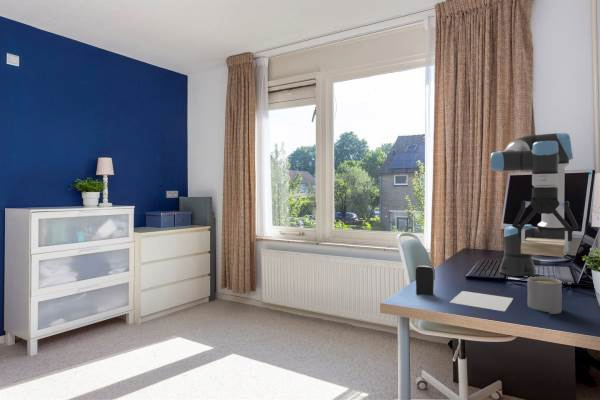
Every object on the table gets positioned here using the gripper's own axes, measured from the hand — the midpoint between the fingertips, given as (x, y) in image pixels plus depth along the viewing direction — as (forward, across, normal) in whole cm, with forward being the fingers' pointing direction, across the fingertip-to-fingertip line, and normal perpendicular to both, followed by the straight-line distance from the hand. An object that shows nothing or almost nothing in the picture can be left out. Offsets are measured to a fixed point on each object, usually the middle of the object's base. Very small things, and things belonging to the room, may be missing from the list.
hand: (544, 249), depth 135 cm
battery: (+21, -39, -7) cm, 44 cm away
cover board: (+1, 0, 0) cm, 1 cm away
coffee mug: (+21, 0, 0) cm, 21 cm away
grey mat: (+20, -19, -5) cm, 28 cm away
